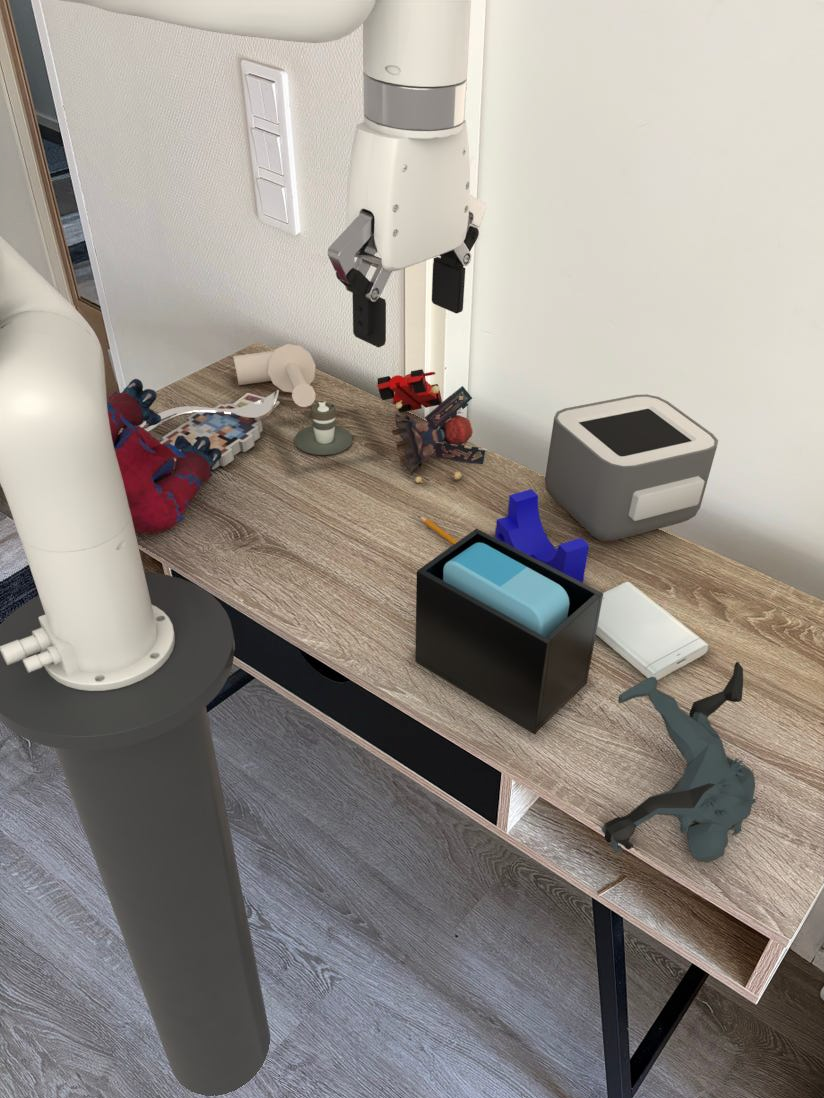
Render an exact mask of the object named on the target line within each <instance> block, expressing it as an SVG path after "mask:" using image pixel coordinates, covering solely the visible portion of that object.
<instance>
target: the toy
mask: <svg viewBox="0 0 824 1098" xmlns="http://www.w3.org/2000/svg"><path fill="white" fill-rule="evenodd" d="M213 408H217V409H233V408H239V407H238V406H236V405H233V403H230V402H228V403H225V404H224V403H219V404H218V405H216V406H213ZM186 420H187V421H185V422H183V423H182V424H180V425H178V426H177V427H176V428H174V429H172V430H171V431H169V432H168V433H166V434H164V435H163V436H162V437H161V441H159V442H160V443H161V444H168V443H170V444H171V445H173V446H174V445H175V441H176V438H177V437H178V436H180V435H183V436H184V437H185V438H186V439H187V440H188V441H189V442H190V443H191V445H192V446H193V445H194V443H195V442H196V441H197V440H198V439H199V438H200V437H202V436H206V437H208V438H209V440H210V443H211V445H210V449H212V448H218V449H220V451H221V453H222V455H221V458H220V459H219V460H218V461H217V463H216V464H215V465H214V466H213V467H212V469H211V471H212V470H215V469H217V468H218V467H226V466H227V465H229V464H230V463H232V462H233V461H234V460H235V456H236V455H237V454H238V453H240V452H241V453H245V452H248V451H249V450H250V449H252V448H253V447H255V442H256V441H257V440H259V439H260V438H261V433H262V432H263V431H264V430H263V429H264V428H263V421H262V419H253V418H247V417H243V416H239V415H233V414H226V413H215V412H195V413H191V414H190V415H188V416H187V417H186ZM180 451H181V450H180ZM176 458H177V457H174V460H175V462H176ZM173 471H175V465H174V469H173Z"/></svg>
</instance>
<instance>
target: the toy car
mask: <svg viewBox="0 0 824 1098" xmlns="http://www.w3.org/2000/svg"><path fill="white" fill-rule="evenodd" d="M434 375H436V372H434V371H429V372H425V371H424V370H423V368H421V369H415V370H411V371H410V373H408V374H406V375H404V376H402V375H400V374H399V375H398V374H397V375H394V376H392V377H391V376H390V375H388V376H382V377H381V376H380V377H377V384H376V387H377V389H378V393H379V396H380V398H381V400H382V401H386V400H392V403H393V404H394V405H395V406H396V403H397V402H399V401H401V400H402V402H401V403H402V407H401V408H400V409H398V408H397V410H398V412H399V413H407V412H411V411H416V410H421V409H423V408H432V407H438V406H439V405H440V404H441V403H442V402H443V400H442V395H441V390H439V392H438V393H437V394H434V393H433V392H430V391H431V388H432V387H433V386H438V387H439V388H440V386H439V384H438V383H435V384H430V383H429V382H428V381H427V378H426V377H429V376H434ZM422 406H423V407H422Z"/></svg>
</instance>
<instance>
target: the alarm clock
mask: <svg viewBox="0 0 824 1098" xmlns="http://www.w3.org/2000/svg"><path fill="white" fill-rule="evenodd" d="M718 443H719V439H718V438H717V437H716V436H715V434H713V433H712V432H711V431H710V430H709V429H707V428H706V427H704V426H703V425H701V424H700V423H698V422H697V421H696V420H694V419H693V418H691V417H690V416H689V415H687V414H686V413H684V412H683V411H682V410H680V408H678V407H676V406H675V405H674V404H672V403H671V402H670V401H668V400H666V399H664V398H662V397H660V396H656V395H651V394H633V395H628V396H622V397H618V398H617V397H616V398H612V399H607V400H602V401H601V400H600V401H596V402H591V403H586V404H580V405H575V406H571V407H565V408H562V409H560V410H558V411H556V412H555V414H554V417H553V423H552V430H551V436H550V441H549V448H548V456H547V462H546V469H545V476H544V485H545V489H546V491H547V493H548V495H549V496H550V497H551V498H552V499H553V500H554V501H555V502H556V503H557V504H559V506H561V507H562V508H563V509H564V510H565V512H567V513H568V514H569V515H570V516H571V517H572V518H573V519H574V520H575V521H576V522H577V523H579V524H580V526H582V528H584V530H586V531H588V533H589V534H590V535H591V536H592V537H594V539H597V540H599V541H601V542H614V541H618V540H622V539H625V538H630V537H633V536H637V535H640V534H645V533H649V532H651V531H655V530H658V529H659V530H660V529H663V528H667V527H671V526H674V525H679V524H682V523H684V522H686V521H689V520H691V519H692V518H694V517H696V516H697V514H698V512H699V510H700V509H701V506H702V503H703V499H704V496H705V492H706V488H707V484H708V481H709V478H710V473H711V470H712V466H713V462H714V458H715V455H716V451H717V449H718Z"/></svg>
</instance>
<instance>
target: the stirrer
mask: <svg viewBox="0 0 824 1098" xmlns="http://www.w3.org/2000/svg"><path fill="white" fill-rule="evenodd" d="M279 392H280V389H275V390H274V392H272V393H271V394H270V395H267V396H266V397H265V398H264V399H261V400H259V401H256V402H254V403H251V404H248V405H246V406H243V407H239V408H233V409H217V408H214V407H205V406H195V405H194V406H193V405H187V406H186V405H185V406H178V407H174V408H170V409H167V410H164V411H161V412H159V413H157V414H158V415H160V416H161V421H160V423H158V424H156V425H152V426H147V427H145V428H144V429H145V430H146V431H148V432H150V431H153V430H154V429H156V428H158V427H159V426H161V425H164V424H166V423H167V422H169V421H171V420H174V419H176V418H179V417H181V416H185V415H188V414H193V413H195V412H215V413H226V414H233V415H239V416H243V417H247V418H253V419H261V420H262V419H265V418H267V417H268V416H270V415H271V414H272V413H273V411H274V409H275V408H276V407H275V405H276V402H277V401H278V397H279ZM274 407H275V408H274ZM145 424H146V421H143V423H142V424H141V425H139V426H140V427H144V426H145Z"/></svg>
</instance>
